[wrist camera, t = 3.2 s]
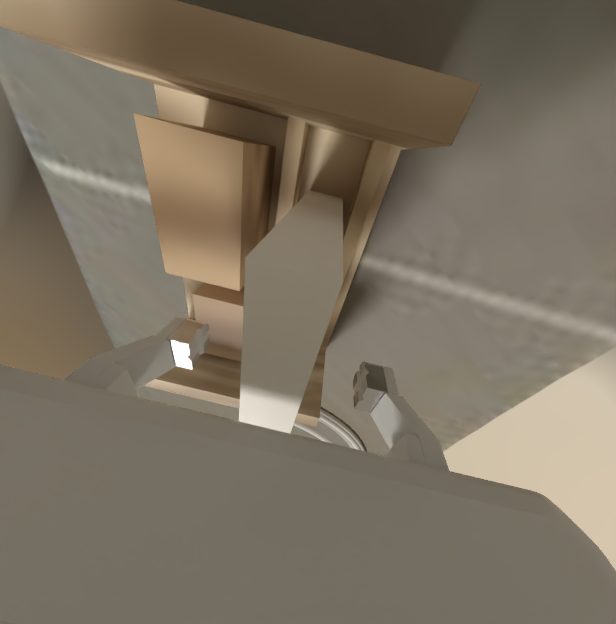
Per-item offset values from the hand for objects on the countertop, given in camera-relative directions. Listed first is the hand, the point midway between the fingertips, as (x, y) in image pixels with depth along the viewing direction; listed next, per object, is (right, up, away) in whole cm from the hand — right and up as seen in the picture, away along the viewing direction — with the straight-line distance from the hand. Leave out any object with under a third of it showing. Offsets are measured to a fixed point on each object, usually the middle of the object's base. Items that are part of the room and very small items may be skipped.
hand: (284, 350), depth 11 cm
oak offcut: (-4, +11, +5) cm, 13 cm away
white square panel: (+1, +6, +8) cm, 10 cm away
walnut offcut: (-6, +3, +11) cm, 13 cm away
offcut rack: (-2, +8, +9) cm, 12 cm away
